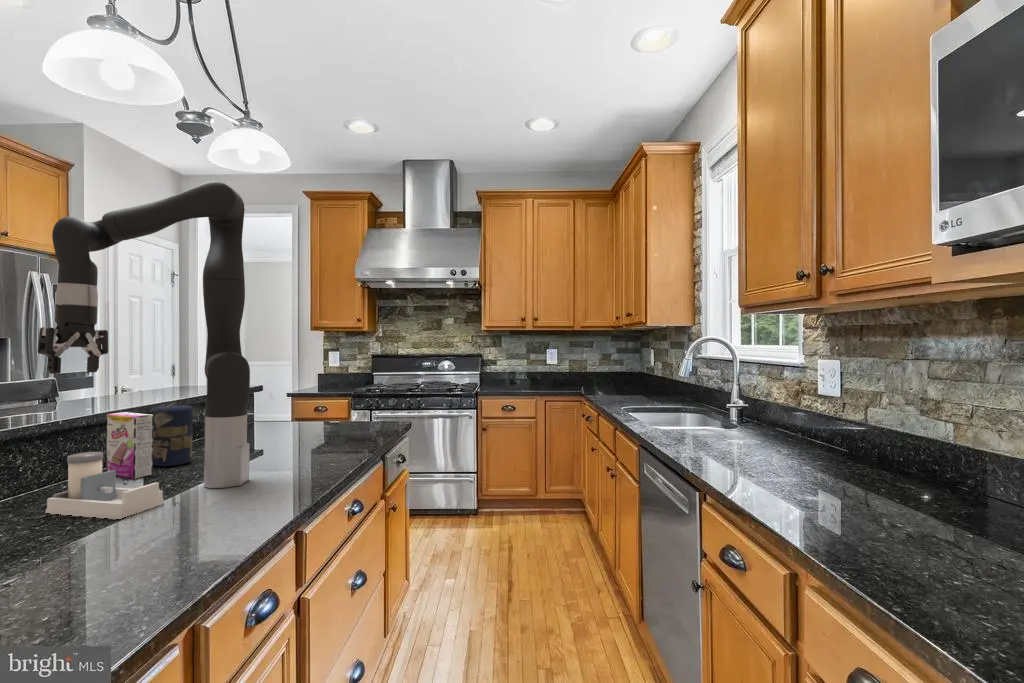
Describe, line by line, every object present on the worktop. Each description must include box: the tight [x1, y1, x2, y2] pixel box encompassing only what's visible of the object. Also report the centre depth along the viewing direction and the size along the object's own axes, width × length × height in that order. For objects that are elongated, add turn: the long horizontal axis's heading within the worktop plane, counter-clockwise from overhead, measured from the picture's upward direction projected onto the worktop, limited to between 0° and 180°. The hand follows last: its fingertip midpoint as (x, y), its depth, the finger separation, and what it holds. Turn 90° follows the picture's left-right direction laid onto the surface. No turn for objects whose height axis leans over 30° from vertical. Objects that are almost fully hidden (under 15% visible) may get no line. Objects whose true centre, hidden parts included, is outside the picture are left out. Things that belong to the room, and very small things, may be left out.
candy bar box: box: [105, 411, 154, 480], centre depth 131 cm, size 11×5×16 cm, turn 71°
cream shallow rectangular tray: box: [45, 482, 165, 520], centre depth 105 cm, size 18×10×5 cm, turn 80°
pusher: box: [80, 470, 117, 501], centre depth 105 cm, size 3×7×6 cm, turn 170°
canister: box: [152, 402, 194, 467], centre depth 144 cm, size 10×10×18 cm
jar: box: [66, 451, 104, 499], centre depth 105 cm, size 6×6×10 cm
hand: (74, 372), depth 116 cm, fingers open, 8 cm apart
